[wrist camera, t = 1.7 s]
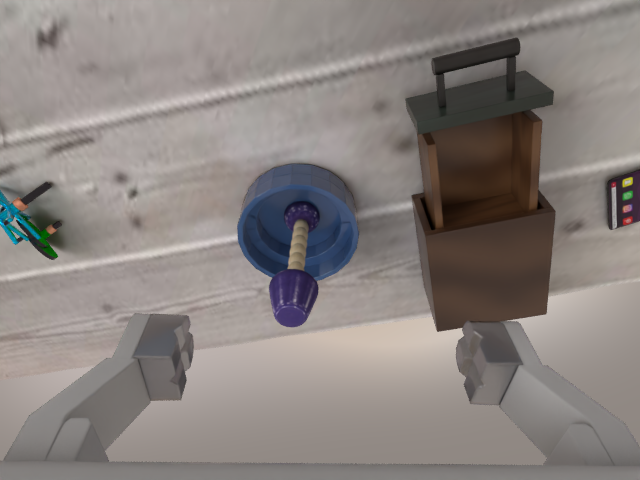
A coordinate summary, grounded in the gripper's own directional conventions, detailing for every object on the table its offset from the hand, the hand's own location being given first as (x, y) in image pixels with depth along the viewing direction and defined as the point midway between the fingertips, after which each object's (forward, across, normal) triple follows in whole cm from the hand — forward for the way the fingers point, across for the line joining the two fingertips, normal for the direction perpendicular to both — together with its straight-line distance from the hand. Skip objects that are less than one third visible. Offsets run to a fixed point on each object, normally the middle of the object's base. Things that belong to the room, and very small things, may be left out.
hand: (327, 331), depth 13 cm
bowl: (+35, +1, +18) cm, 40 cm away
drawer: (+34, -16, +6) cm, 38 cm away
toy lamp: (+35, +1, +18) cm, 39 cm away
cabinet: (+35, -20, +20) cm, 45 cm away
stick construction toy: (+36, +32, +19) cm, 51 cm away
